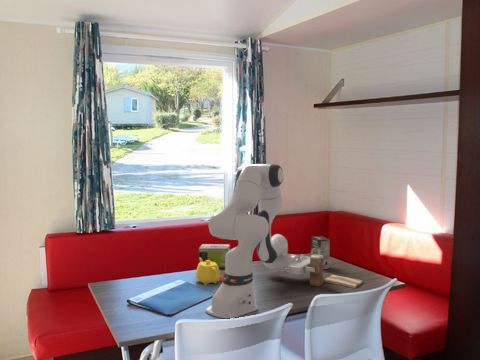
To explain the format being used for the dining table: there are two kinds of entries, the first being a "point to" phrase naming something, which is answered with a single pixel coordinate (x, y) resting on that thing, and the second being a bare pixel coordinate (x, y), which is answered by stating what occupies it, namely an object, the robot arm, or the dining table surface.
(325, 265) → the coffee box
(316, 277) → the walnut post
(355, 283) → the beige flat slab
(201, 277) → the teapot
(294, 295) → the dining table surface
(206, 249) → the tea box
